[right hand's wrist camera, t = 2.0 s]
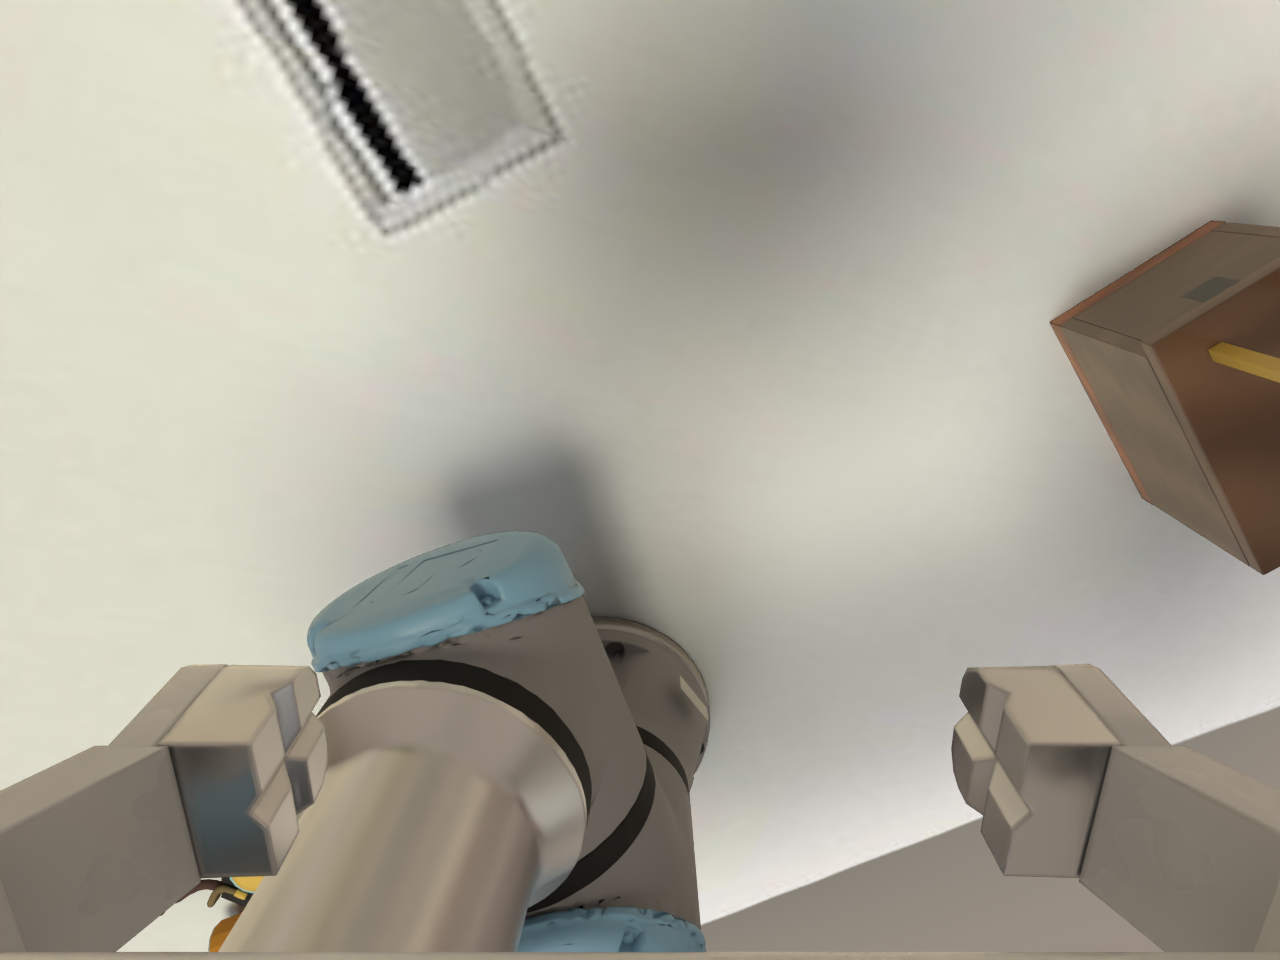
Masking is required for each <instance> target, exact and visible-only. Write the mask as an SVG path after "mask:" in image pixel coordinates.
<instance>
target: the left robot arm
mask: <svg viewBox="0 0 1280 960" xmlns="http://www.w3.org/2000/svg"><path fill="white" fill-rule="evenodd" d="M583 594H585V591H584V588H583V585H581V583H578V582H577V581H576V580H575V578H574V575H573V573H572V571H571V569H570V567H569V565H568V563H567V560H566V558H565V556H564V554H563V552H562V551H561V549H560V547H559V546H558V545H557V544H556V543H555V542H554V541H553V540H551V539H550V538H548V537H546V536H544V535H542V534H539V533H535V532H531V531H506V532H498V533H492V534H487V535H482V536H478V537H474V538H470V539H466V540H462V541H459V542H456V543H453V544H449V545H446V546H443V547H440V548H438V549H435V550H432V551H429V552H427V553H424V554H421V555H419V556H416V557H414V558H411V559H409V560H407V561H404V562H402V563H400V564H398V565H395V566H393V567H391V568H389V569H387V570H385V571H383V572H381V573H379V574H377V575H375V576H373V577H371V578H369V579H367V580H365V581H363V582H362V583H360V584H358V585H357V586H355V587H353V588H352V589H350V590H348V591H347V592H345V593H344V594H342V595H341V596H339V597H338V598H337V599H335V600H334V601H333V602H331V603H330V604H329V605H328V606H327V607H325V608H324V609H323V610H322V611H321V612H320V613H319V614H318V615H317V616H316V617H315V619H314V620H313V621H312V623H311V625H310V627H309V629H308V635H307V643H308V646H309V649H310V651H311V654H312V656H313V660H312V666H313V668H314V670H315V671H316V672H322V673H323V675H324V677H325V679H326V681H327V683H328V685H329V687H330V697H329V698H328V700H327V701H326V703H325V704H324V705H323V707H322V708H321V710H320V711H319V713H318V714H317V715H316V717H317V718H318V719H319V720H320V721H321V722H322V723H323V724H324V725H325V726H326V731H327V738H328V764H327V768H326V773H325V777H324V782H323V786H322V788H321V790H320V792H319V794H318V796H317V798H316V800H315V802H314V804H313V805H311V806H310V807H308V808H307V809H305V810H304V811H302V812H301V813H300V814H298V815H297V821H298V826H299V833H298V835H297V837H296V839H295V841H294V843H293V845H292V847H291V849H290V850H289V852H288V854H287V856H286V858H285V860H284V862H283V864H282V866H281V868H280V870H279V871H278V873H277V875H276V876H264V878H263V879H262V881H261V883H260V884H259V886H258V887H257V889H256V891H255V892H254V894H253V896H252V897H251V899H250V900H249V902H248V904H247V905H246V907H245V909H244V910H243V912H242V914H241V915H240V917H239V918H238V920H237V922H236V923H235V925H234V927H233V928H232V930H231V932H230V933H229V935H228V936H227V938H226V940H225V941H224V943H223V945H222V946H221V948H220V949H219V951H218V952H706V948H705V939H704V935H703V933H702V932H701V926H700V914H699V902H698V890H697V878H696V866H695V854H694V842H693V830H692V818H691V807H690V796H689V792H690V789H691V786H692V783H693V775H694V774H695V772H696V771H697V769H698V767H699V765H700V763H701V760H702V758H703V755H704V753H705V750H706V746H707V741H708V735H709V728H710V714H709V705H708V698H707V692H706V689H705V685H704V682H703V680H702V677H701V675H700V673H699V671H698V669H697V668H696V666H695V665H694V663H693V662H692V660H691V659H690V658H689V656H688V655H687V654H686V653H685V652H684V651H683V650H682V649H681V648H680V647H679V646H678V645H677V644H675V643H674V642H673V641H672V640H670V639H669V638H667V637H666V636H664V635H663V634H661V633H659V632H657V631H655V630H653V629H651V628H649V627H647V626H644V625H642V624H639V623H635V622H632V621H628V620H623V619H618V618H609V617H591V615H590V612H589V610H588V607H587V605H586V602H585V600H584V598H583Z"/></svg>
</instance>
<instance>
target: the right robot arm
mask: <svg viewBox="0 0 1280 960" xmlns="http://www.w3.org/2000/svg"><path fill="white" fill-rule="evenodd" d="M320 697H321V694H320V690H319V685H318V680H317V675H316V673H315V672H314V671H313V670H312V669H311V668H310V667H309V666H265V665H230V666H229V665H226V664H220V665H190V666H186V667H182V668H181V669H180V670H179V671H178V672H177V673H176V674H175V675H174V676H173V677H172V678H171V679H170V680H169V681H168V682H167V684H166V685H165V686H164V687H163V688H162V689H161V690H160V691H159V692H158V693H157V694H156V695H155V696H154V697H153V698H152V700H151V701H150V702H149V703H148V704H147V705H146V706H145V707H144V708H143V709H142V710H141V711H140V712H139V713H138V714H137V716H136V717H135V718H134V719H133V720H132V721H131V722H130V723H129V724H128V725H127V726H126V727H125V728H124V729H123V730H122V732H121V733H120V734H119V735H118V736H117V737H116V738H115V739H114V740H113V741H112V742H111V743H110V744H109V745H108V746H94V747H91V748H89V749H87V750H85V751H83V752H81V753H79V754H77V755H75V756H73V757H71V758H68V759H66V760H64V761H62V762H60V763H58V764H56V765H54V766H52V767H50V768H48V769H45V770H43V771H41V772H39V773H37V774H35V775H33V776H31V777H29V778H27V779H25V780H22V781H20V782H18V783H16V784H14V785H12V786H10V787H8V788H6V789H4V790H2V791H0V960H1280V791H1278V790H1276V789H1274V788H1272V787H1270V786H1268V785H1266V784H1264V783H1262V782H1259V781H1257V780H1255V779H1253V778H1251V777H1249V776H1247V775H1245V774H1243V773H1241V772H1239V771H1237V770H1234V769H1232V768H1230V767H1228V766H1226V765H1224V764H1222V763H1220V762H1218V761H1216V760H1214V759H1212V758H1209V757H1207V756H1205V755H1203V754H1201V753H1199V752H1197V751H1195V750H1193V749H1191V748H1188V747H1186V746H1172V745H1171V744H1170V743H1169V742H1168V741H1167V740H1166V739H1165V738H1164V737H1163V736H1162V735H1161V734H1160V733H1159V731H1158V730H1157V729H1156V728H1155V727H1154V726H1153V725H1152V724H1151V723H1150V722H1149V721H1148V720H1147V719H1146V718H1145V717H1144V715H1143V714H1142V713H1141V712H1140V711H1139V710H1138V709H1137V708H1136V707H1135V706H1134V705H1133V704H1132V703H1131V702H1130V700H1129V699H1128V698H1127V697H1126V696H1125V695H1124V694H1123V693H1122V692H1121V691H1120V690H1119V689H1118V688H1117V687H1116V686H1115V684H1114V683H1113V682H1112V681H1111V680H1110V679H1109V678H1108V677H1107V676H1106V675H1105V674H1104V673H1103V672H1102V671H1101V669H1099V668H1097V667H1095V666H1093V665H1090V664H1076V665H1049V666H1024V667H976V668H967V670H966V672H965V674H964V676H963V678H962V683H961V689H960V694H959V697H960V698H961V700H962V702H963V703H964V705H965V707H966V708H967V710H968V713H967V714H966V715H965V716H964V717H963V718H962V719H961V720H960V721H959V722H958V723H957V724H956V725H955V726H954V733H953V741H952V760H953V771H954V775H955V778H956V781H957V785H958V788H959V790H960V792H961V794H962V796H963V798H964V800H965V802H966V804H967V805H969V806H970V807H972V808H973V809H975V810H976V811H978V812H979V813H981V814H982V815H983V821H982V826H981V833H982V835H983V837H984V839H985V841H986V843H987V845H988V847H989V848H990V850H991V852H992V854H993V856H994V858H995V860H996V862H997V864H998V866H999V867H1000V869H1001V871H1002V873H1003V875H1004V876H1026V877H1061V878H1080V879H1079V882H1080V883H1081V884H1083V885H1084V886H1085V887H1086V888H1087V889H1089V890H1090V891H1091V892H1092V893H1093V894H1095V895H1096V896H1097V897H1098V898H1100V899H1101V900H1102V901H1103V902H1104V903H1106V904H1107V905H1108V906H1109V907H1111V908H1112V909H1113V910H1114V911H1115V912H1117V913H1118V914H1119V915H1120V916H1122V917H1123V918H1124V919H1125V920H1126V921H1128V922H1129V923H1130V924H1131V925H1133V926H1134V927H1135V928H1136V929H1137V930H1139V931H1140V932H1141V933H1142V934H1144V935H1145V936H1146V937H1147V938H1148V939H1150V940H1151V941H1152V942H1153V943H1154V944H1156V945H1157V946H1158V947H1159V948H1161V949H1162V950H1163V951H1164V952H116V951H117V950H118V949H120V948H121V947H122V946H123V945H125V944H126V943H127V942H128V941H129V940H131V939H132V938H133V937H134V936H136V935H137V934H138V933H139V932H140V931H142V930H143V929H144V928H145V927H147V926H148V925H149V924H150V923H151V922H153V921H154V920H155V919H156V918H158V917H159V916H160V915H161V914H162V913H164V912H165V911H166V910H167V909H169V908H170V907H171V906H172V905H173V904H175V903H176V902H177V901H178V900H180V899H181V898H182V897H183V896H184V895H186V894H187V893H188V892H189V891H191V890H192V889H193V888H194V887H195V886H197V885H198V884H199V883H200V882H201V879H200V878H218V877H253V876H276V875H277V873H278V871H279V870H280V868H281V866H282V864H283V862H284V860H285V858H286V856H287V854H288V852H289V850H290V849H291V847H292V845H293V843H294V841H295V839H296V837H297V835H298V833H299V826H298V821H297V815H298V814H300V813H301V812H302V811H304V810H305V809H307V808H308V807H310V806H311V805H313V804H314V802H315V800H316V798H317V796H318V794H319V792H320V790H321V788H322V786H323V782H324V777H325V773H326V768H327V764H328V738H327V731H326V726H325V725H324V724H323V723H322V722H321V721H320V720H319V719H318V718H317V717H316V716H315V715H314V714H313V713H312V710H313V708H314V707H315V705H316V703H317V702H318V700H319V698H320Z"/></svg>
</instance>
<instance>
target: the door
mask: <svg viewBox="0 0 1280 960" xmlns="http://www.w3.org/2000/svg"><path fill="white" fill-rule="evenodd" d="M1141 345H1142V347H1143V349H1144V351H1145V353H1146V355H1147V357H1148V359H1149V361H1150V363H1151V365H1152V367H1153V369H1154V371H1155V373H1156V375H1157V377H1158V379H1159V381H1160V384H1161V386H1162V388H1163V390H1164V392H1165V394H1166V396H1167V398H1168V400H1169V402H1170V404H1171V406H1172V408H1173V410H1174V412H1175V414H1176V416H1177V418H1178V420H1179V422H1180V424H1181V426H1182V428H1183V430H1184V432H1185V434H1186V436H1187V438H1188V440H1189V442H1190V444H1191V446H1192V448H1193V451H1194V453H1195V455H1196V457H1197V459H1198V461H1199V463H1200V465H1201V467H1202V469H1203V471H1204V473H1205V475H1206V477H1207V479H1208V481H1209V483H1210V485H1211V487H1212V489H1213V491H1214V493H1215V495H1216V497H1217V499H1218V501H1219V503H1220V505H1221V507H1222V509H1223V511H1224V513H1225V515H1226V518H1227V520H1228V522H1229V524H1230V526H1231V528H1232V530H1233V532H1234V534H1235V536H1236V538H1237V540H1238V542H1239V544H1240V546H1241V548H1242V550H1243V552H1244V554H1245V556H1246V558H1247V560H1248V562H1249V564H1250V566H1251V567H1252V568H1253V569H1255V570H1256V571H1258V572H1259V573H1261V574H1262V575H1265V574H1267V573H1269V572H1270V571H1272V570H1274V569H1276V568H1278V567H1280V257H1279V258H1277V259H1276V260H1274V261H1272V262H1271V263H1269V264H1267V265H1266V266H1264V267H1262V268H1261V269H1259V270H1258V271H1256V272H1254V273H1253V274H1251V275H1249V276H1248V277H1246V278H1244V279H1243V280H1241V281H1239V282H1238V283H1236V284H1235V285H1233V286H1231V287H1230V288H1228V289H1226V290H1225V291H1223V292H1221V293H1220V294H1218V295H1216V296H1215V297H1213V298H1212V299H1210V300H1208V301H1207V302H1205V303H1203V304H1202V305H1200V306H1198V307H1197V308H1195V309H1193V310H1192V311H1190V312H1189V313H1187V314H1185V315H1184V316H1182V317H1180V318H1179V319H1177V320H1175V321H1174V322H1172V323H1170V324H1169V325H1167V326H1166V327H1164V328H1162V329H1161V330H1159V331H1157V332H1156V333H1154V334H1152V335H1151V336H1149V337H1147V338H1146V339H1144V340H1143V341H1141Z"/></svg>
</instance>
